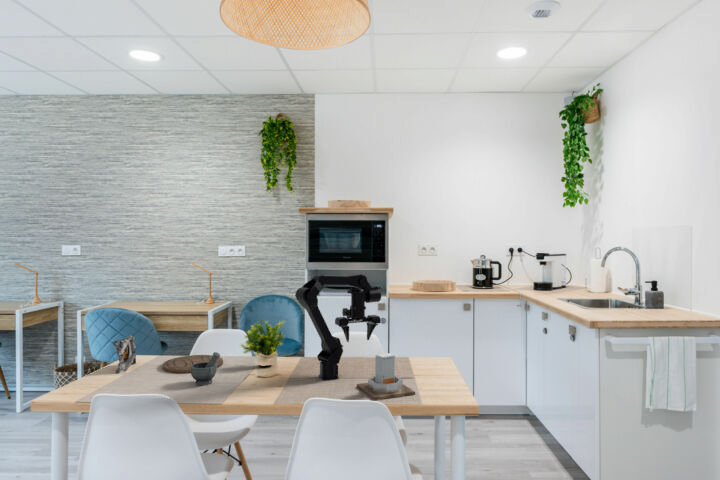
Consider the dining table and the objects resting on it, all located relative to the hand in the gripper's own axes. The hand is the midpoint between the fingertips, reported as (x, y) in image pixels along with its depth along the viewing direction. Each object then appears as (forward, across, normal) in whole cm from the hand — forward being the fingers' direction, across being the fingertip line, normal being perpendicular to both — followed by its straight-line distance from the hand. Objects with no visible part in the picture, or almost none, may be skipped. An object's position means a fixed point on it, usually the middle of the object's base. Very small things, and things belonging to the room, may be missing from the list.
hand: (357, 340), depth 191 cm
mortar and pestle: (+13, +60, -8) cm, 62 cm away
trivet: (+13, +63, -37) cm, 74 cm away
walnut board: (+13, 0, +26) cm, 29 cm away
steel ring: (+13, 0, +26) cm, 29 cm away
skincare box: (+12, 0, +26) cm, 29 cm away
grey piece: (+13, +90, -42) cm, 100 cm away
